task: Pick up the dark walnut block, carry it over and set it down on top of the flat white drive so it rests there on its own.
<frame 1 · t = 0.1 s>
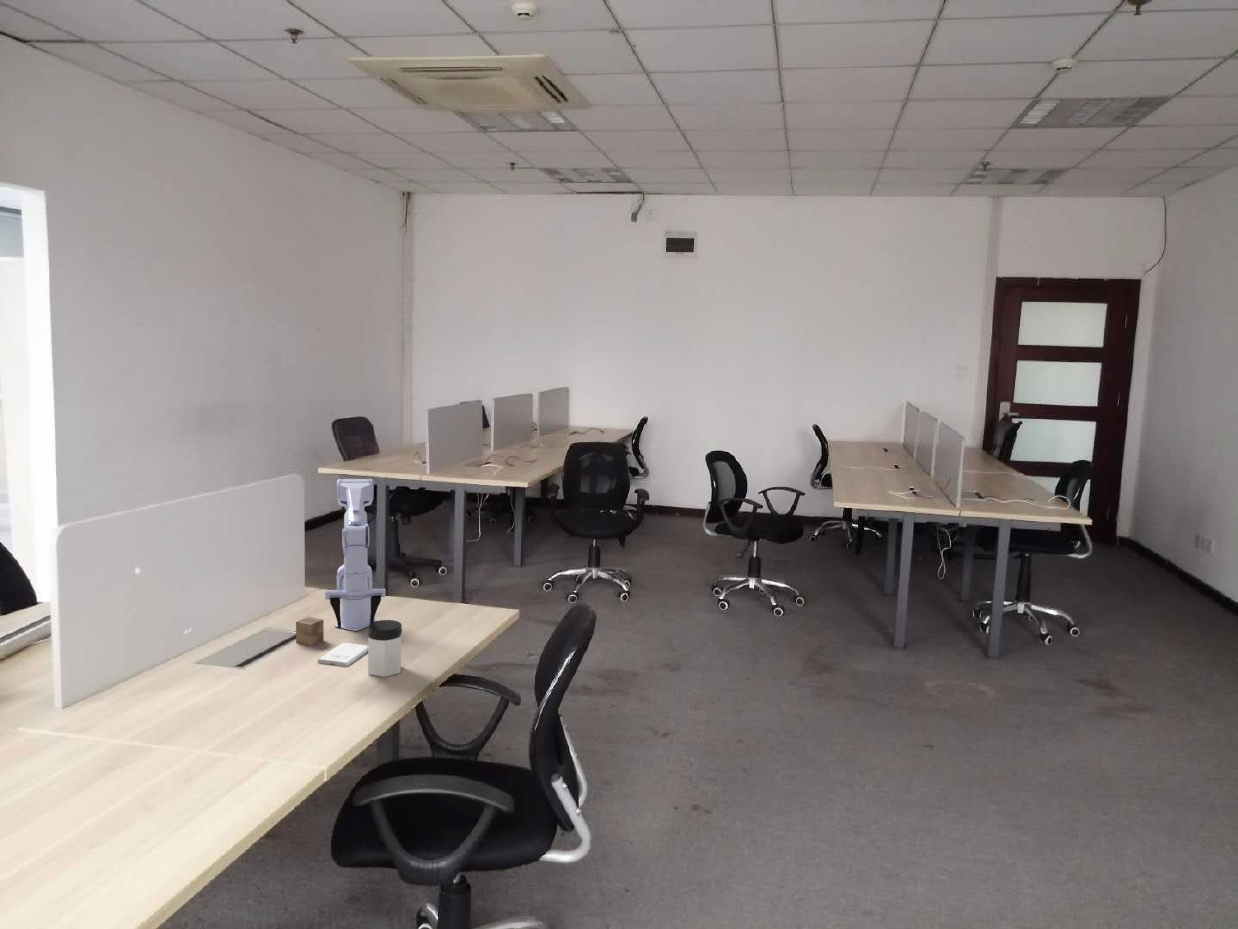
hand: (355, 626, 211), 11 cm above the table, tool pointing down, fingers open, 7 cm apart
jar: (384, 671, 211), on the table
external hard drive: (344, 658, 219), on the table
walnut block: (309, 641, 228), on the table
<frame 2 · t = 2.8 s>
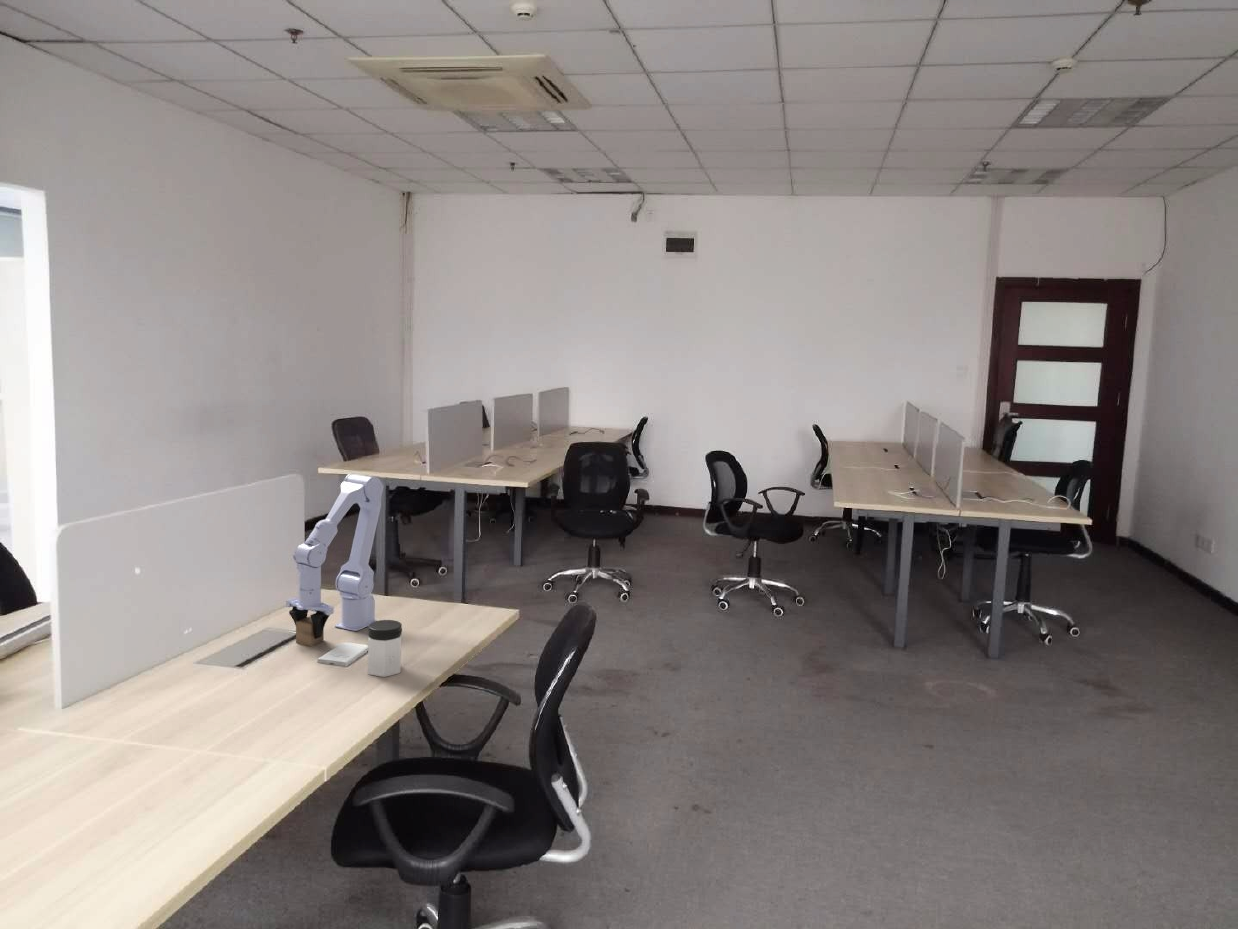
hand: (309, 635, 228), 2 cm above the table, tool pointing down, fingers closed on walnut block, 5 cm apart
walnut block: (309, 641, 228), on the table, touching gripper
everything else where it was.
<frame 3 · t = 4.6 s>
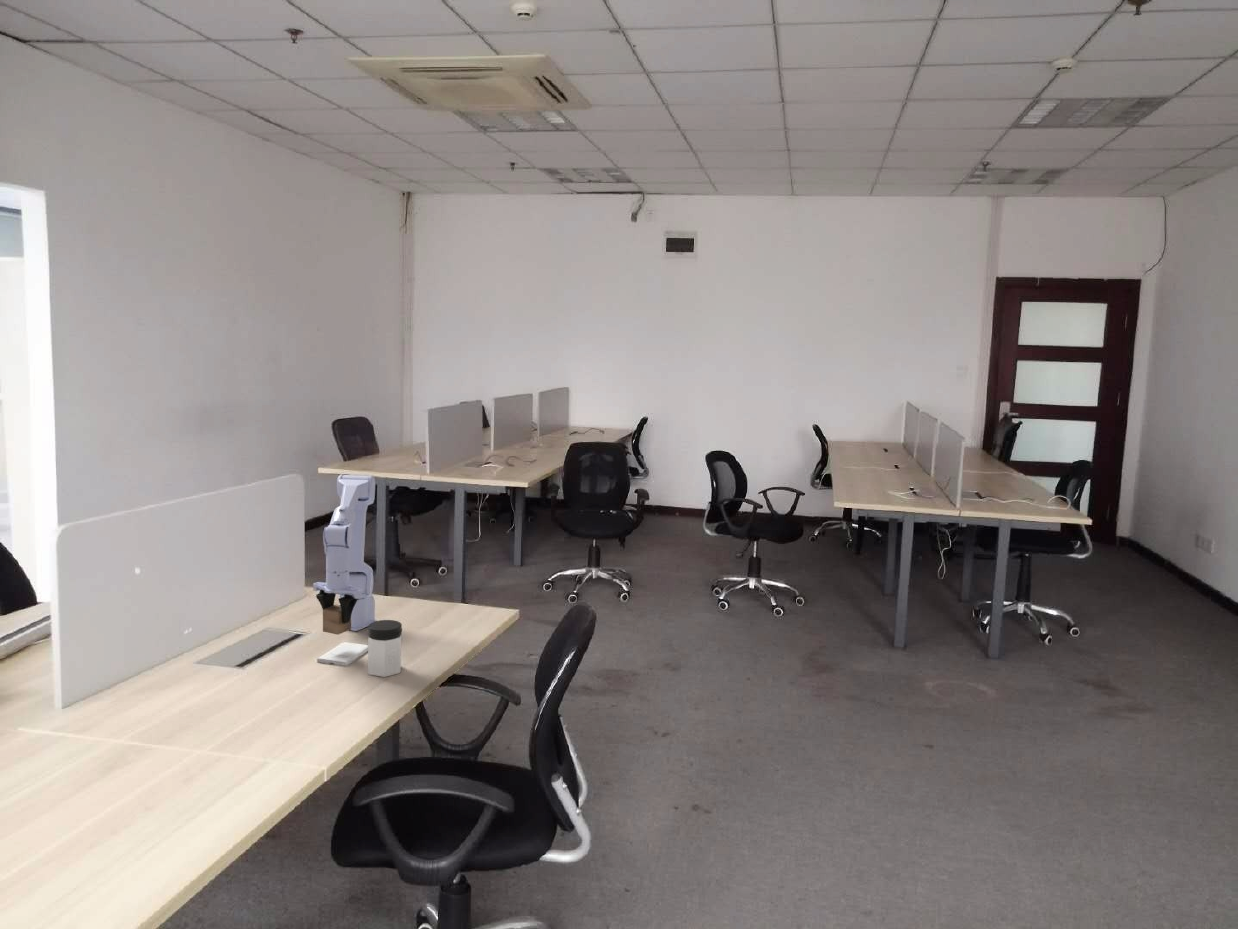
hand: (337, 620, 219), 9 cm above the table, tool pointing down, fingers closed on walnut block, 5 cm apart
walnut block: (337, 630, 220), point 6 cm above the table, touching gripper
everything else where it was.
when the fingers open (4 cm above the table, at t = 6.7 s): walnut block stays where it is, resting on external hard drive.
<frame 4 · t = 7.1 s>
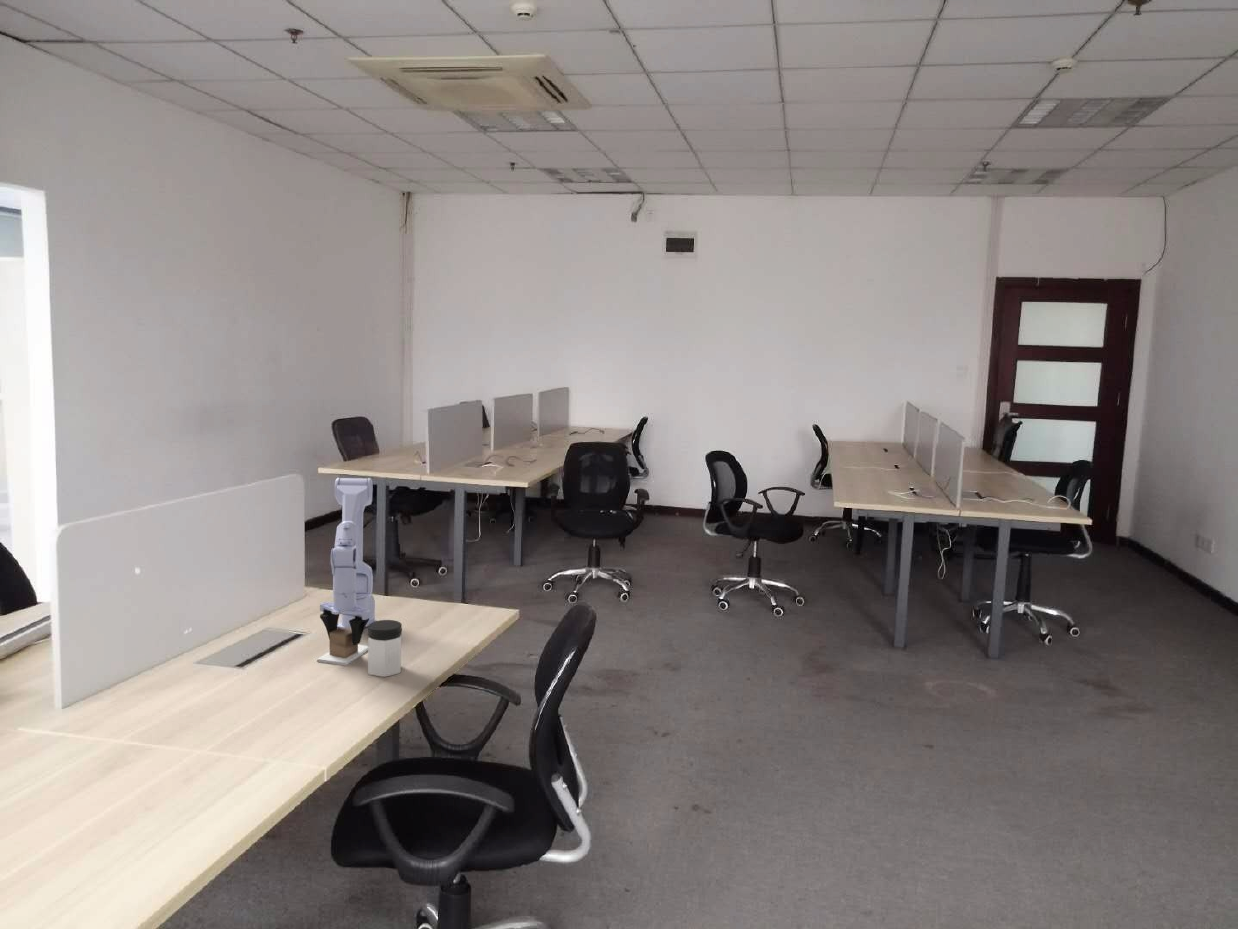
hand: (344, 641, 218), 4 cm above the table, tool pointing down, fingers open, 7 cm apart
external hard drive: (343, 658, 220), on the table, touching walnut block
walnut block: (343, 653, 219), point 1 cm above the table, touching external hard drive
everything else where it was.
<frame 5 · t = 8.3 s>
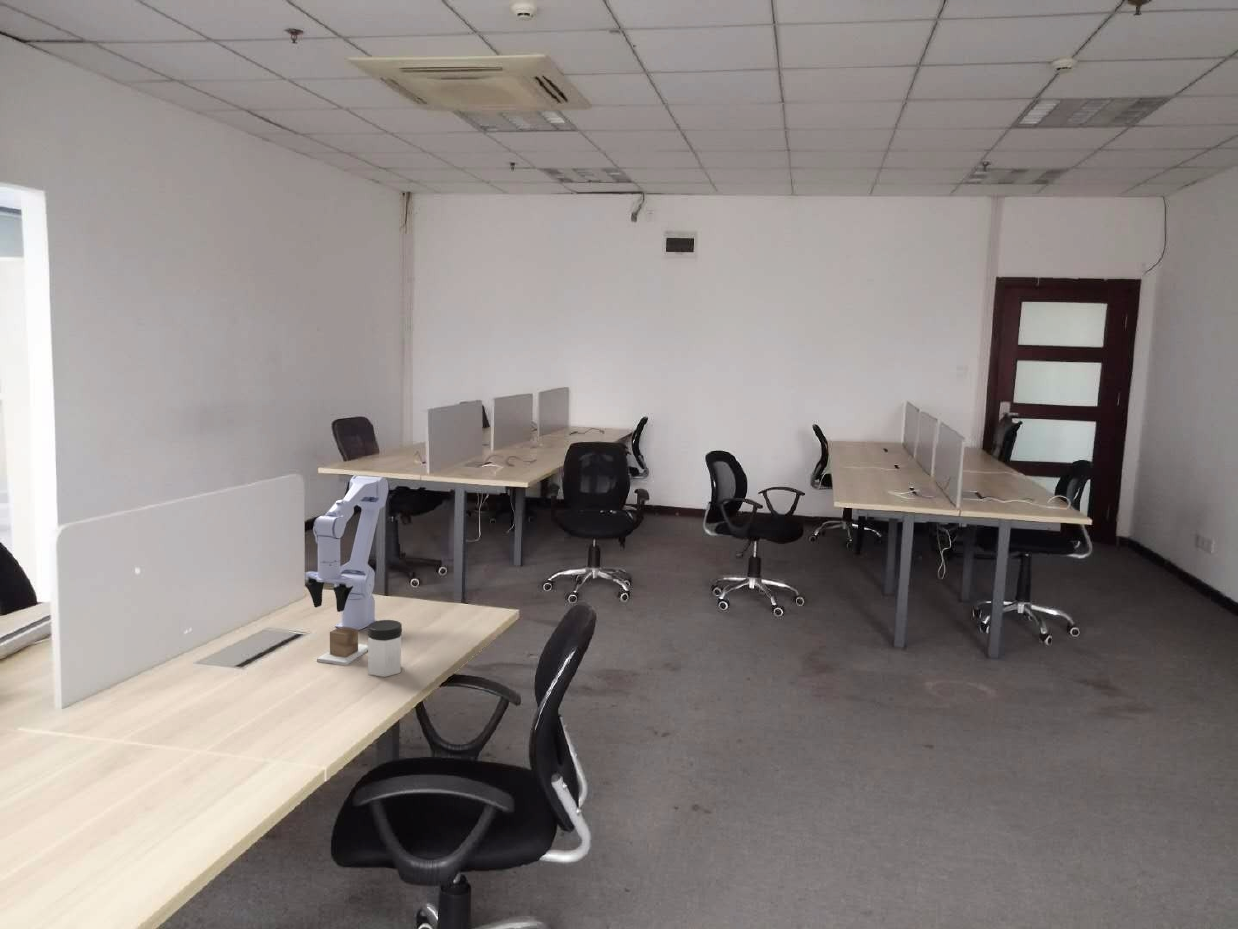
hand: (329, 608, 226), 10 cm above the table, tool pointing down, fingers open, 7 cm apart
nothing on the table moved.
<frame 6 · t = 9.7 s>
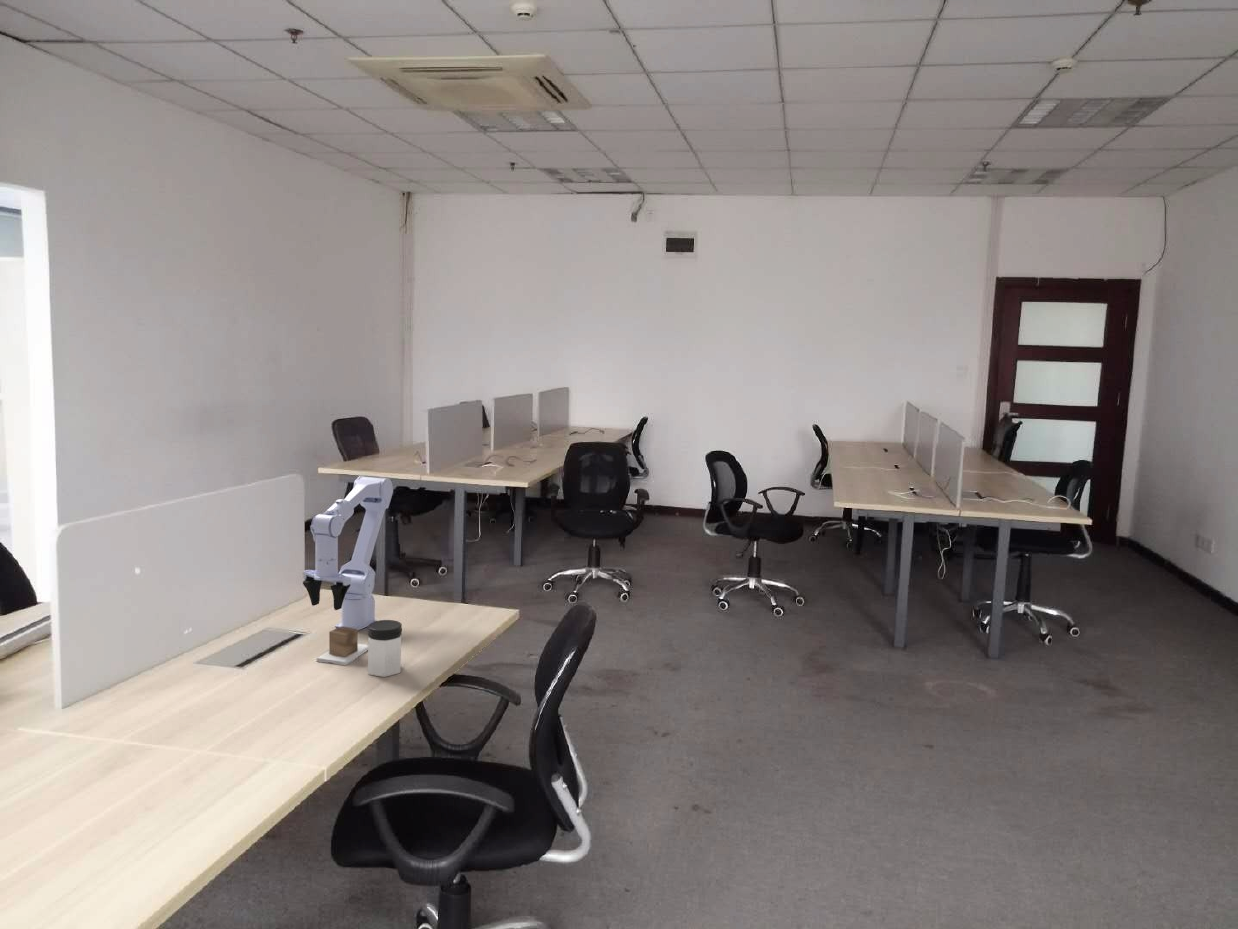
hand: (326, 606, 227), 10 cm above the table, tool pointing down, fingers open, 7 cm apart
nothing on the table moved.
at the end: walnut block 0.8 cm from the external hard drive (horizontally); walnut block point 0.8 cm above the table; walnut block tilted 0° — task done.
